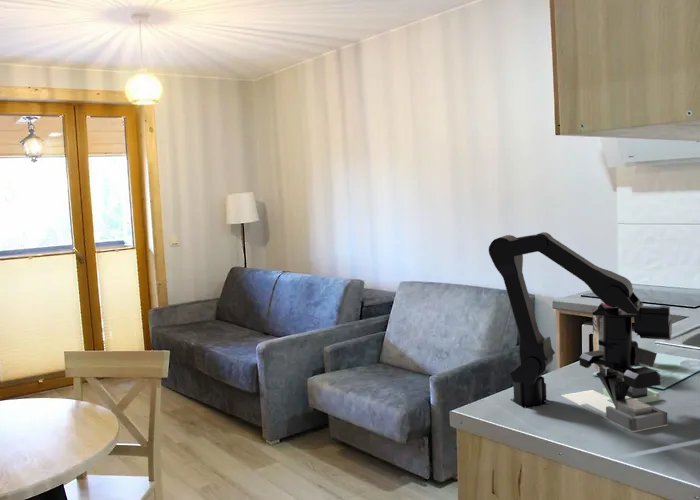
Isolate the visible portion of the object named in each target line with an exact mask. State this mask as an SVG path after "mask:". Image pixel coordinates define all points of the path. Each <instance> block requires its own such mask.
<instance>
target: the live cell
mask: <svg viewBox="0 0 700 500" xmlns="http://www.w3.org/2000/svg"><path fill="white" fill-rule="evenodd" d="M647 388H648V387H646V388H640V389H638V388H633V387H631V386H630V387H629V389H628V392H627V394H626V396H628V397H630V398H633V399H635V398H641V397H646V396H647Z"/></svg>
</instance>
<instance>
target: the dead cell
mask: <svg viewBox="0 0 700 500" xmlns="http://www.w3.org/2000/svg"><path fill="white" fill-rule="evenodd" d="M647 404H648V403H646V404H644V403H642V402H640V401H638V400H635V399H633V398H626V399H620V400H615V409H617V410H619V411H621V412H623V413H626V414H628V415H630V416H632V417H635V416H640V415H646V414H651V413H652V407H651V406H652V405H651V406H649V405H650V404H648V405H647Z"/></svg>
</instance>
